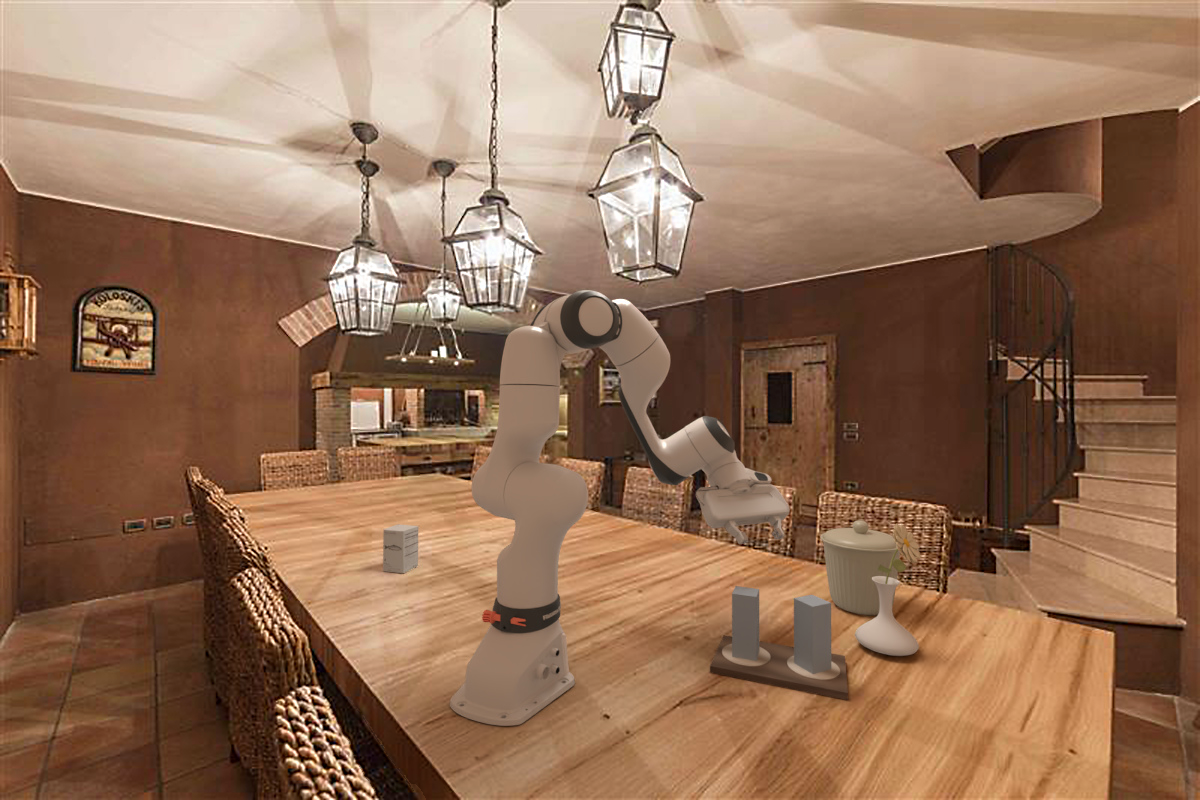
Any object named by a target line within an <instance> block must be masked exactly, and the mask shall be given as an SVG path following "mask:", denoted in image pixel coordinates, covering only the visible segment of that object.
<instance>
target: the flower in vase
mask: <svg viewBox="0 0 1200 800" xmlns="http://www.w3.org/2000/svg"><path fill="white" fill-rule="evenodd" d="M891 536H893V538H894V542H895V544H897V546H896V547H897V549H896V551H895V553H894V555H893V557H892V561H891V564H890V567H889V569H888V568H886V567H884V566H882V565H881V564H880V566H879V568H878V570H879V571H882V572H886V573H887V577H885V576H875V577H872V580H873V581H874V583H875V584H876V586H877V589H878V593H879V599H880V610H879V614H878V615H876V616H875V617H874V618H872V619H871V620H868V621H866V622H865V623H863V624H861V625H860V626H858V627H857V628H856V630H855V633H854V636H855V639H856V641H857V642H858V643H859V644H860V645H862V646H863V647H865V648H867V649H868V650H871V651H873V652H876V653H878V654H882V655H885V656H887V655H888V656H893V657H903V656H910V655H913V654H916V652H917V651H919V650H920V644H919V643H918V640H917V639H916V638H915V636H914V635H913V634H912V633H911V632H910V631H909V630H908V629H906V628H905V627H904V626H903V625H901V624H900V622H898V621H897V620H896V618H895V616H894V614H893V606H892V600H893V594H894V591H895V592H896V590H895V589H897V587H898V586H899V585H900V584H901V581H900V580H898V578H897V579H894V578H891V577H889V573H890V572H891V571H892V570H891V567H892V565H893V567H894V568H895V569H896V570H897V571H898V573H903V572H905V571H906V569H907V566H906V563H905V562H903V560H901V559H900V558H899V559H895V560H894V558H895V555H896V553H897V551H900V556H902V557H903V559H904V560H908V561H909V563H910V562H912V563H914V564H915V563H918V559H921V552H920V551H919V549H920V547H921V546H920V545H919V544H918V543H917V540H916V539H915V538H914V534H913V532H911V531H910V532H909V531H908V529H907V528H906V526H905V525H904V524H900V525H899V524H898V523H896V524H895V525H894V526H893V529H892V535H891ZM893 561H894V562H893Z"/></svg>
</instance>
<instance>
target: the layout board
mask: <svg viewBox="0 0 1200 800" xmlns="http://www.w3.org/2000/svg"><path fill="white" fill-rule="evenodd" d="M709 673H712V674H716V675H721V676H725V677H731V678H736V679H740V680H746V681H751V682H756V683H759V684H767V685H771V686H776V687H780V688H786V689H790V690H796V691H800V692H805V693H810V694H811V693H812V694H816V695H821V696H825V697H830V698H834V699H839V700H844V701H845V700H846V701H849V695H848V694H849V691H848V689H849V688H848V677H847V665H846V655H844V654H836V653H832V652H831V669H830V670H826V671H823V672H819V673H816V674H812V673H810V672H808V671H807V670H805V669H803V668H802V667H800V666H798V665H797V664H795V663H794V646H790V645H784V644H779V643H773V642H766V641H761V640H759V654H758V658H757V661H753V660H747V659H742V658H736V657H732V635H726V634H723V635H722V638H721V640H720V642H719V644H718V647H717V648H716V651H715V654H714V657H713V658H712V660H711V663H710V665H709Z"/></svg>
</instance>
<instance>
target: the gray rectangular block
mask: <svg viewBox="0 0 1200 800" xmlns="http://www.w3.org/2000/svg"><path fill="white" fill-rule="evenodd" d="M793 647H794V663H795V664H797V665H798V666H800V667H802V668H803V669H805V670H807V671H808V672H810V673H812V674H816V673H819V672H823V671H826V670H830V669H831V653H832V603H831V602H830V601H828V600H825V599H824V598H821V597H818V596H817V595H814V594H809V595H808V594H807V595H802V596H797V597H794V598H793Z"/></svg>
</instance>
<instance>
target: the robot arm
mask: <svg viewBox="0 0 1200 800" xmlns="http://www.w3.org/2000/svg"><path fill="white" fill-rule="evenodd" d="M597 348H599V349H600V350H602V351H603V352H604V353H605V354H606V355H607V357H608V359H609V360H610V361H611V362H612V365H614V367H615V369H616V370H617V371H618V374H619V377H620V386H619V387H618V390H617V392H618V398H619V401H620V403H621V406H622V409H623V411H624V413H625V415H626V418H627V419H628V422H629V423H630V425H631V427H632V430H633V432H634V433H635V435H636V437H637V439H638V442H639V444H640V446H641V447H642V449H643V451H644V454H645V456H646V458H647V460H648V464H649V467H650V469H651V472H652V473H653V475H654V476H655V478H656V479H657V480H658V481H659V482H660V483H661V484H665V485H669V486H679V485H680V484H681V483H683V482H684V481H686V480H687V479H688V478H689V477H690V476H692V475H694V474H695V473H696V472H699V471H701V470H702V471H703V472H704V473H705V475H706V478H707V483H708V485H709V486H707V487H706V486H701V487H699V488H698V489H697V490H696V491H695V497H696V499H697V501H698V503H699V506H700V509H701V513H702V516H703V519H704V521H705V524H706V525H707V526H709V527H710V528H711V529H720V528H724V529H725V530H726V532H727V533H729V534H730V535H731V536H732V537H734V538H735V540H736V541H737V543H738V544H739V545H742V544H743V545H744V544H747V542H748V541H749V537H748V536H747V533H746V532H745V531H741V530H740V529H739V528H738V526H746V525H747V526H748V525H757V524H765V523H769V524H770V526H771V527H773V531H772V532H771V535H772V536H773V537H774V540H782V539H783V538H784V537H785V534H786V533H785V532H784V530H783V529H782V521H785V519H786V518H787V517H788V515H789V514H790V506H789V504H788V502H787V501H786V499H785V497H784V496H783V494H782V493H781V492H780V490H779V488H777V487H776V486H775V485H773V484H772V483H771V482H772V480H773V479H772V477H771V476H770V475H769V474H767V473H766V472H765V473H764V472H760V471H757V470H753V469H750V468H747V467H745V465H744V463H743V462H741V460H739V458H738V456H737V453H736V452H737V451H736V450H735V446H736V445H735V441H734V440H733V438H732V436H731V434H730V433H729V430H728V429H727V427H726V426H725V424H724V423H723V422H722V421H721V420H720V419H719V418H717V417H713V416H709V415H703V416H701V417H698V418H696V419H695V420H694V421H692V422H690V423H689V424H687V425H685V426H684V427H683V428H681V429H680V430H678V431H676V432H675V433H673V434H671V435H670V436H669V437H667V438H664V439H661V438H659V435H658V434H657V431H656V430H655V428H654V426H653V423H652V421H651V419H650V418H649V415H648V414H647V410H648V409H647V408H648V405H649V403H650V401H651V400H652V398H653V397H654V396H655V394H656V393H657V391H658V390H659V388H661V386H662V385H663V383H664V382H665V380H666V377H667V376H668V373H669V370H670V367H671V354H670V352H669V349H668V348H667V345H666V343H665V342H664V340H663V338H662V337H661V336H660V334H659V333H658V332H657V330H656V329H655V327H654V326H653V324H651V322H650V321H649V319H648V318H646V316H645V315H644V314H643V313H642V312H641V311H640V310H639V309H638V308H637V307H636V306H635V305H634V304H633V303H632V302H631V301H629V300H628V299H625V298H624V299H623V298H616V299H612V300H611V298H609V297H607V296H606V295H605V294H604V293H601V292H598V291H595V290H587V289H584V290H578V291H575V292H573V293H572V294H568V295H564V296H563V295H562V296H560V297H558V298H556V299H554V300H553V301H551V302H550V303H548V304H546V305H544V306H543V307H541V308H540V309H539V310H538V312H537V313H536V315H535V316H534V319H533V320H532V322H531V323H530V325H525V326H520V327H517V328H515V329H513V330H512V331H511V332H510V333H508V335H507V337H506V339H505V343H504V347H503V352H502V357H501V364H500V376H499V395H498V397H499V398H498V399H499V400H498V417H497V418H498V419H497V427H496V433H495V437H494V441H493V443H492V446H491V449H490V451H489V454H488V455H487V458H486V460H485V461H484V463H483V464H482V465H481V466H480V467H478V469H477V470H476V471H475V473H474V475H473V478H472V481H471V488H470V489H471V496H472V498H473V501H474V503H476V505H477V506H478V507H479V508H481V509H483V510H484V511H486V512H488V513H490V514H491V515H493V516H496V517H499V518H503V519H507V520H513V521H514V533H513V537H512V539H511V541H510V544H508V545H507V546H505V547H504V548H503V549H502V550H501V551H500V552H499V553H498V557H497V560H496V597H495V599H494V603H493V606H492V609H491V610H489V609H485V610H484V611H483V613H482V615H481V621H482V622H483V623H490V626H489V628H488V629H487V631H486V633H485V634H484V636H483V638H482V639H481V641H480V643H479V645H478V646H477V648H476V649H475V651H474V653H473V655H472V656H471V658H470V659H469V662H468V663H467V666H466V672H465V680H464V681H465V682H464V683H463V684H462V685H461V686H460V687H459V689H458V690H457V691H456V692H455V693H454V694H453V695H452V696H451V698H450V699H449V700H450V701H449V707H450V709H452V710H453V711H454V712H455V713H456V714H457V715H459V716H462V717H464V718H466V719H468V720H473V721H475V722H478V723H483V724H487V725H491V726H492V725H493V726H501V727H502V726H503V727H504V726H505V727H507V726H509V727H510V726H519V725H522V724H523V723H525V722H526V721H527V720H529V719H530V718H532V717H533V716H534V715H536V714H537V713H538V712H540V711H541V710H542V709H544V708H545V707H546V706H548V705H550V704H551V703H552V702H553V701H554V700H556V699H557V698H559V697H560V696H562V695H563V694H564V693H565V692H566V691H569V690H570V689H571V688H572V687H573V686H575V684H576V681H575V679H576V678H575V676H574V675H573V673H572V672H570V668H569V656H568V644H567V635H566V633H565V632H564V629H563V627H562V625H561V622H560V620H559V619H560V618H561V617H560V616H561V608H562V604H561V603H562V602H561V596H560V594H559V593H558V592H559V591H558V590H559V588H558V587H559V586H558V585H559V561H560V559H559V558H560V552H561V547H562V545H563V542H564V539H565V537H566V536H567V533H568V531H569V530H570V528H572V526H574V525H575V524H577V522H579V521H580V520H581V519H582V517H583V515H584V514H585V512H586V510H587V506H588V502H589V491H588V487H587V482H586V480H585V479H584V478H583V476H582V475H581V474H579V473H578V472H576V471H575V470H572V469H570V468H567V467H565V466H562V465H559V464H555V463H543V462H540V458H541V454H542V450H543V447H544V446H545V444H546V442H547V441H548V440H549V439H550V438H551V437H553V436H554V435H555V433H557V431H558V429H559V426H560V400H561V397H560V396H561V395H560V394H561V373H560V370H561V367H562V363H563V360H564V357H565V355H567V354H579V353H583V352H587V351H588V350H592V349H597Z"/></svg>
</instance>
